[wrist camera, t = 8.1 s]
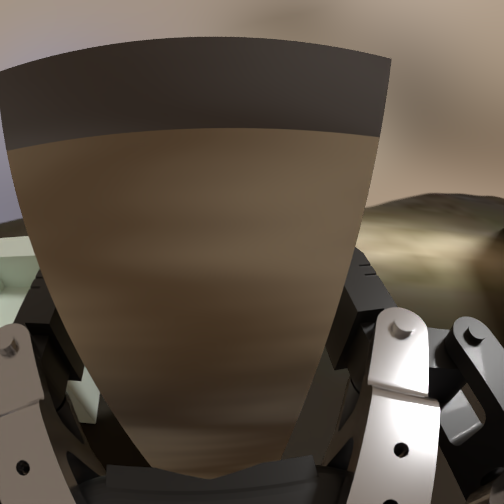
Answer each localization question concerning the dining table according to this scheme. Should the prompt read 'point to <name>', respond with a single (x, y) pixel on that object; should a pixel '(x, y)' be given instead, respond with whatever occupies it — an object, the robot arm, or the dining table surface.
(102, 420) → the dining table surface
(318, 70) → the brown rectangular block
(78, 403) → the post socket
